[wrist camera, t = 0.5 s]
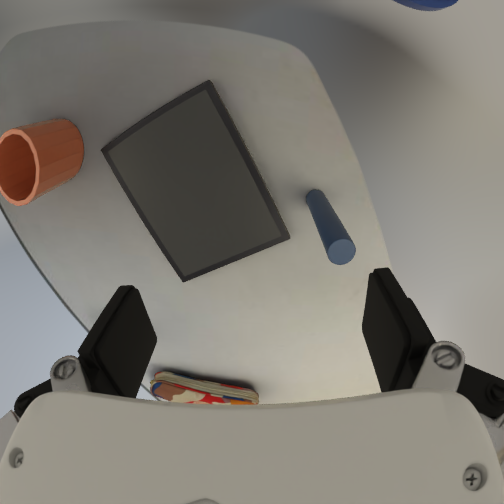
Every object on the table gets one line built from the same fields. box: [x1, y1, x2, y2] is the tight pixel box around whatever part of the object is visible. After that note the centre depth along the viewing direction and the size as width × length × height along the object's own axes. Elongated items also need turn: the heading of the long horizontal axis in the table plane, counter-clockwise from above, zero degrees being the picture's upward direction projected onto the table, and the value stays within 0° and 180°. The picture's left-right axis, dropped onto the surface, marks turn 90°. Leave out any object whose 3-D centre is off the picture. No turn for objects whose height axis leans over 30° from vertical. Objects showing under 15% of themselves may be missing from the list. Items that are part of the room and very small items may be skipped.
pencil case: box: [150, 372, 259, 405], centre depth 47 cm, size 11×20×5 cm, turn 66°
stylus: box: [306, 190, 356, 265], centre depth 27 cm, size 2×2×13 cm
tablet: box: [101, 80, 290, 282], centre depth 32 cm, size 20×15×1 cm
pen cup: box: [0, 119, 84, 206], centre depth 26 cm, size 9×9×9 cm
